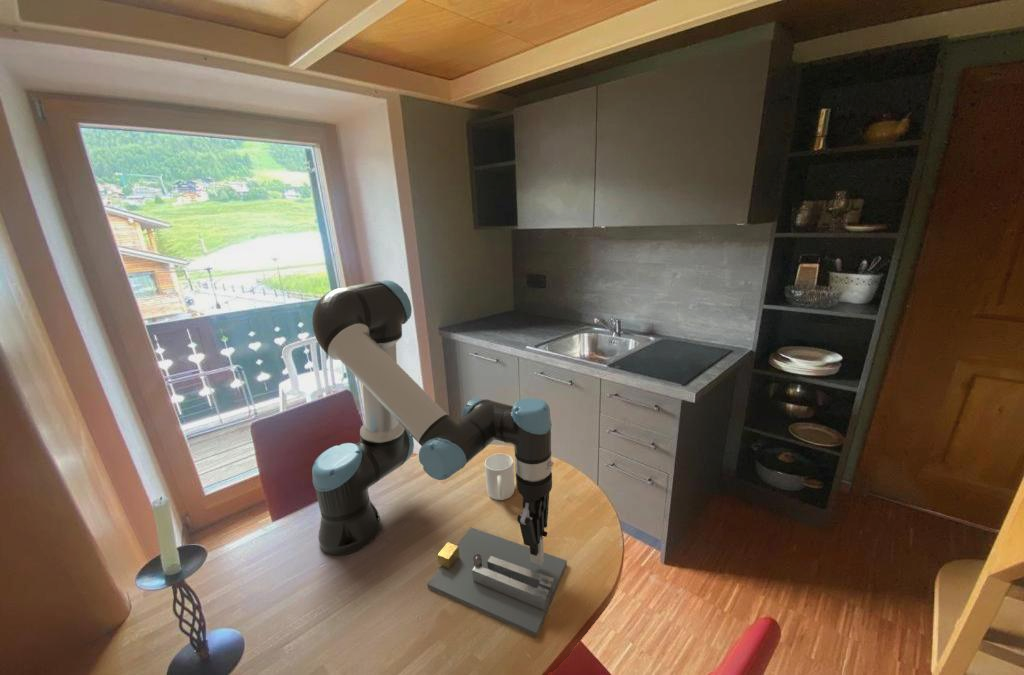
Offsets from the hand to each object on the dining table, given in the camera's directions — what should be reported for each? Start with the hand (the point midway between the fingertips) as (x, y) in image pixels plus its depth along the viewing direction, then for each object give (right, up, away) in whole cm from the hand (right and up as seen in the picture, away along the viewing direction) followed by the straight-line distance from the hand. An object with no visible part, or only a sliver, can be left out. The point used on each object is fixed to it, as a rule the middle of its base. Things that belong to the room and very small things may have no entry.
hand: (537, 561), depth 88 cm
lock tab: (-20, -2, +3) cm, 21 cm away
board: (-9, -3, 0) cm, 9 cm away
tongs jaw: (-4, -3, -3) cm, 6 cm away
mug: (-9, +4, +26) cm, 28 cm away
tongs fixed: (-6, -4, -4) cm, 8 cm away
